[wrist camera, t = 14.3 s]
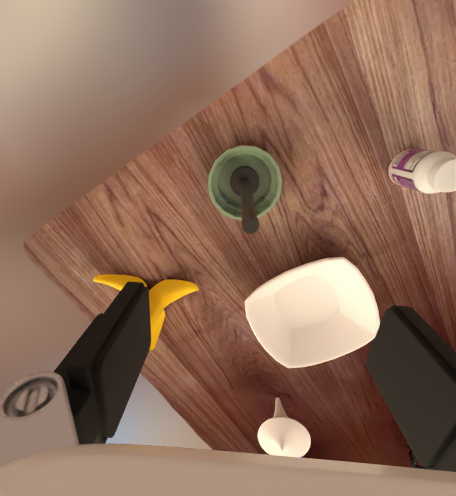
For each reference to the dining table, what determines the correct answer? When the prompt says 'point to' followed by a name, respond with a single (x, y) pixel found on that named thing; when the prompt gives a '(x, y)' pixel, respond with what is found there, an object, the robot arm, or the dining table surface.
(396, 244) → the dining table surface
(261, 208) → the green round dish
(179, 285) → the banana peel
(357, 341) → the bowl
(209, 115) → the dining table surface
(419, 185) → the pill bottle
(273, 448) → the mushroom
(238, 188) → the disc-footed rod
